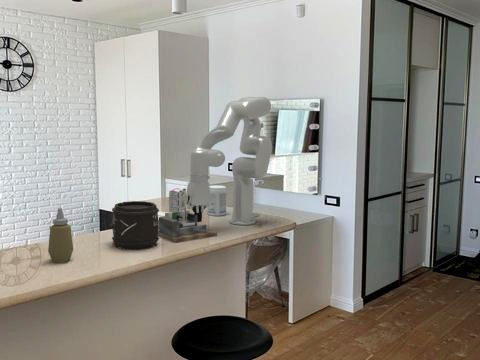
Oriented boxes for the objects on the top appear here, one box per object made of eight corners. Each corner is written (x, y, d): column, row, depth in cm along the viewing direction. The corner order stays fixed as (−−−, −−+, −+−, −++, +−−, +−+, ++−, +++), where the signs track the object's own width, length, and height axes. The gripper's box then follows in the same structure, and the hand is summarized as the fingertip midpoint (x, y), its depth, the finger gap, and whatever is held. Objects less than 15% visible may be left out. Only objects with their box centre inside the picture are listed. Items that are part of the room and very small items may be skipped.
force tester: (195, 228, 213) (195, 208, 212) (217, 235, 201) (217, 214, 199) (154, 234, 199) (154, 213, 198) (174, 242, 187) (175, 220, 186)
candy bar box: (176, 221, 226) (176, 187, 224) (186, 222, 225) (186, 188, 223) (168, 226, 216) (168, 190, 213) (178, 227, 215) (179, 191, 213)
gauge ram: (185, 227, 207) (185, 211, 206) (197, 231, 200) (197, 215, 199) (171, 229, 202) (171, 213, 201) (182, 233, 195) (183, 217, 194)
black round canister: (107, 240, 188) (107, 201, 186) (152, 237, 195) (152, 199, 193) (113, 252, 172) (113, 209, 170) (162, 248, 179) (162, 207, 177)
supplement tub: (224, 212, 251) (224, 185, 249) (227, 216, 242) (228, 187, 240) (206, 212, 249) (206, 185, 247) (208, 216, 239) (209, 187, 238)
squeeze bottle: (52, 256, 164) (51, 206, 162) (76, 256, 165) (75, 206, 163) (45, 263, 156) (43, 210, 154) (70, 264, 157) (69, 210, 155)
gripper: (208, 177, 208) (207, 218, 211) (179, 179, 199) (178, 221, 201) (218, 179, 203) (217, 221, 205) (189, 181, 193) (188, 225, 195)
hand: (198, 221), depth 203 cm, fingers closed
